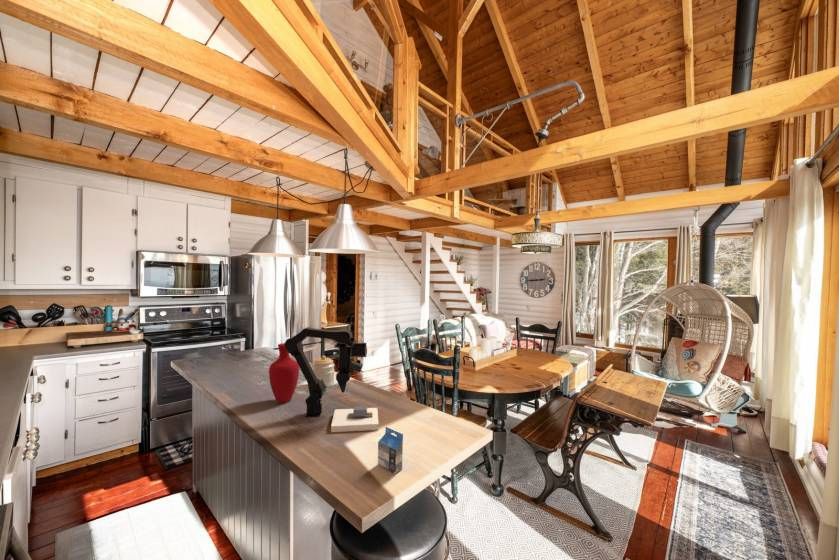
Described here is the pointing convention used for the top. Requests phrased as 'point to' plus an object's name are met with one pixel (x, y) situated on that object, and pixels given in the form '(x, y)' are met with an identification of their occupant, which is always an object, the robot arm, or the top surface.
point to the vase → (283, 376)
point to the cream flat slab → (354, 421)
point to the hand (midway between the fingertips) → (344, 389)
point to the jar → (324, 370)
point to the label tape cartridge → (390, 451)
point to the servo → (360, 413)
